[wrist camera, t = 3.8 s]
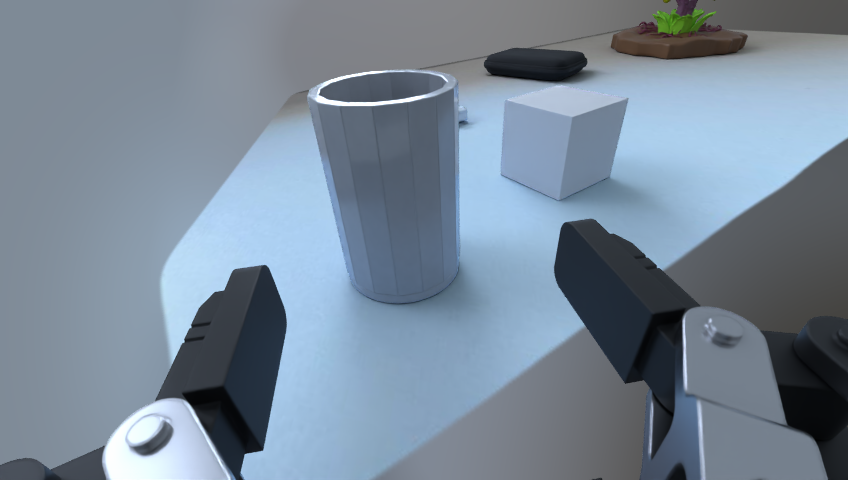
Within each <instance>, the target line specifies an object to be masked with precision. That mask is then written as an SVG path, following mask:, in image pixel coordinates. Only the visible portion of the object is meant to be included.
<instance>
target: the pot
mask: <svg viewBox="0 0 848 480" xmlns="http://www.w3.org/2000/svg"><path fill="white" fill-rule="evenodd" d="M307 99H308V103H309V108H310V112H311V116H312V121H313V125H314V129H315V134H316V138H317V142H318V147H319V151H320V155H321V160H322V164H323V168H324V173H325V177H326V181H327V186H328V190H329V194H330V199H331V203H332V207H333V212H334V216H335V220H336V225H337V229H338V233H339V238H340V242H341V246H342V250H343V255H344V259H345V263H346V268H347V272H348V273H349V277H350V280H351V282H352V284H353V286H354V287H355V288H356V289H357V290H358V291H359V292H360V293H362V294H363V295H365V296H366V297H368V298H371V299H373V300H377V301H380V302H386V303H410V302H416V301H420V300H423V299H426V298H429V297H431V296H434V295H436V294H437V293H439V292H441V291H442V290H444V289H445V288H446V287H447V286H448V285H449V284H450V283H451V282H452V281H453V280H454V278H455V276H456V275H457V272H458V269H459V256H460V219H459V104H458V80H456V79H455V78H454V77H453V76H452V75H449V74H445V73H441V72H437V71H427V70H391V71H390V70H387V71H376V72H367V73H360V74H355V75H350V76H345V77H340V78H336V79H333V80H329V81H326V82H323V83H321V84H319V85H317V86H316V87H314V88H312V89H310V90H309V93H308V96H307Z"/></svg>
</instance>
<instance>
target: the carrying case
mask: <svg viewBox="0 0 848 480" xmlns="http://www.w3.org/2000/svg"><path fill="white" fill-rule="evenodd" d="M586 65H587V59H586V58H585V56H584V54H583V53H581V52H576V51H561V50H545V49H527V48H512V49H508V50H505V51H501V52H498V53H495V54H491V55H490V56H488V58H487V60H485V62H484V67H485V68H486V69H487V71H488V72H489V73H492V74H498V75H506V76H515V77H524V78H533V79H543V80H561V79H564V78H566V77H568V76H571V75H573V74H575V73H577V72H579V71H581V70H582V69H583V67H585V66H586Z"/></svg>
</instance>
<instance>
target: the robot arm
mask: <svg viewBox="0 0 848 480" xmlns="http://www.w3.org/2000/svg"><path fill="white" fill-rule="evenodd" d="M554 273H555V278H556V281H557V284H558V286H559V288H560V289H561V291H562V292H563V294H564V295H565V297H566V298H567V300H568V301H569V302H570V304H571V305H572V307H573V308H574V310H575V311H576V313H577V314H578V316H579V317H580V319H581V320H582V321H583V323H584V324H585V326H586V327H587V329H588V330H589V331H590V333H591V335H592V336H593V337H594V339H595V340H596V342H597V343H598V345H599V346H600V348H601V349H602V350H603V352H604V354H605V355H606V356H607V358H608V359H609V361H610V362H611V364H612V365H613V367H614V368H615V370H616V371H617V372H618V374H619V375H620V377H621V378H622V380H623V381H624V383H625V384H626V383H631V382H637V381H642V380H644V381H645V382H646V383H647V385H648V386H649V387H650V389H649V391H648V393H647V397H646V412H645V413H646V414H645V428H644V444H643V459H642V469H641V475H640V480H848V428H847V427H846V426H847V425H848V319H843V318H838V317H832V316H820V317H815V318H812V319H810V320H809V321H808V322H807V324H806V325H805V326H804V328H803V329H802V330H801V332H800V333H799V334H793V333H782V332H772V331H760V330H759V329H758V328H756V327H755V326H754V325H753V324H752V323H750V322H749V321H748V320H746V319H744V318H742V317H741V316H739V315H737V314H735V313H732V312H730V311H727V310H724V309H720V308H716V307H705V306H700V305H699V304H698V303H697V302H696V301H695V300H694V299H693V298H691V297H690V296H689V295H688V294H687V293H686V292H685V291H684V290H683V289H682V288H681V287H679V286H678V285H677V284H676V283H675V282H674V281H673V280H672V279H671V278H670V277H669V276H668V275H666V274H665V273H664V272H663V271H662V270H661V269H660V268H657V265H656V264H654V263H653V262H652V261H651V260H650V259H649V258H646V257H645V254H644V253H642V252H641V251H640V250H639V249H638V248H637V247H636V246H635V245H634V244H633V243H631V242H629V241H627V240H625V239H623V238H621V237H619V236H617V235H616V234H609V233H608V232H607V231H606V230H605V229H604V228H603V227H602V226H601V225H600V224H599V223H598V222H597V221H596V220H594V219H585V220H579V221H572V222H565V223H564V224H563V225H562V227H561V231H560V236H559V242H558V248H557V254H556V260H555V266H554ZM191 326H192V328H190V329H189V331H188V333H187V335H186V337H185V339H184V340H185V343H182V345H181V347H180V350H179V352H178V354H177V356H176V358H175V360H174V362H173V364H172V366H171V368H170V371H169V373H168V375H167V377H166V379H165V381H164V383H163V385H162V388H161V389H160V392H159V394H158V396H157V398H156V400H155V402H152V403H150V404H148V405H146V406H144V407H143V408H141V409H139V410H138V411H136V412H135V413H134V414H132V415H131V416H129V417H128V418H127V419H126V420H125V421H124V422H123V423H122V424H121V425H120V426H119V427H118V428H117V429H116V430H115V431H114V433H113V434H112V435H111V437H110V438H109V440H108V442H107V444H106V445H105V446H103V447H101V448H99V449H96V450H94V451H92V452H90V453H87V454H85V455H83V456H81V457H78V458H76V459H74V460H71V461H69V462H67V463H65V464H62V465H61V466H58V467H56V468H53V469H51V470H50V469H49V468H47V467H46V466H44V465H43V464H42V463H40V462H39V461H37V460H35V459H31V458H23V459H17V460H13V461H10V462H7V463H5V464H2V465H0V480H245V479H244V477H243V476H242V474H241V473H240V472H241V468H242V463H243V459H244V455H245V454H247V453H252V452H258V451H263V448H264V443H265V438H266V433H267V427H268V422H269V417H270V412H271V407H272V401H273V396H274V391H275V386H276V381H277V376H278V370H279V365H280V360H281V355H282V350H283V344H284V339H285V334H286V327H287V321H286V313H285V309H284V306H283V303H282V300H281V298H280V295H279V293H278V290H277V287H276V285H275V282H274V280H273V277H272V274H271V272H270V270H269V268H268V267H267V266H266V265H261V266H254V267H247V268H240V269H235V270H233V272H232V274H231V276H230V278H229V281H228V283H227V285H226V288H225V290H224V291H219V292H214V293H213V294H212V295H211V297H210V298H209V299H208V300H207V301H206V302H205V303H204V304H203V305H202V306H201V307H200V308H199V310H198V312H197V314H196V316H195V318H194V320H193V322H192V324H191ZM593 480H602V478H598V479H593Z"/></svg>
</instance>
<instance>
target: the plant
mask: <svg viewBox="0 0 848 480" xmlns="http://www.w3.org/2000/svg"><path fill="white" fill-rule="evenodd" d="M669 1H670V0H663V2H664V3H668V2H669ZM676 1H677V3H678V8H677V10H676V9H673V10H672V12H671V14H670V15H669V14H667V13H665V12H661V11H658V14H659V16H658V15H655V14H653V16H654V18H655V19H657V22H658V25H654V23H653V22H650V23H648V24H646V23H645V22H642V23H640V25H641V24H643V23H644V24H645V25H641V26H640V25H639V26H638V27H636V28H630V29H627V30H624V31H621V32H619V33H617V34H614V35H613V39H612V44H611V47H612V48H614V49H615V50H616V51H618V52H621V53H627V54H631V55H637V56H652V57H658V58H663V59H678V58H686V57H700V56H708V55H716V54H727V53H734V52H738V50H739V49H741V48H743V47H744V45H745V42H746V40H747V37H748V35H746V34H744V33H740V32H733V31H729V30H725V29H722V27H721V26H720V25H718V26H719V27H718V26H717V27H716V26H711V25H709V26H706V23H705V24H703V22H704V21H705V20H706V19H707V18H709V17H710V16H712V15H713V14H715V13H716V11H715V12H712V13H710V14H707V15H705V16H704V17H702V18H701V19H700V20H699V21H698V22H697V23H696V24H695V22H696V20H697V19H698V18H699V17H700V16H701V15H702V14H703V13H704V11H703V10H702V9H700V10H698V11H697V10H696V9H694V8H695V6H696V3H697V1H698V0H691V1H689V0H676ZM714 1H715V0H714ZM702 11H703V12H702Z"/></svg>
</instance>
